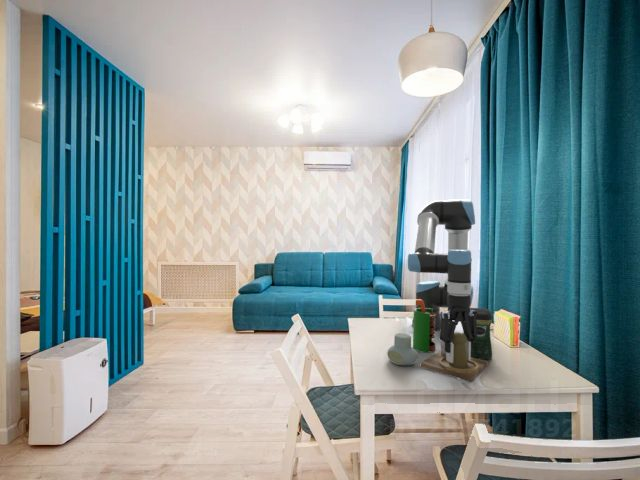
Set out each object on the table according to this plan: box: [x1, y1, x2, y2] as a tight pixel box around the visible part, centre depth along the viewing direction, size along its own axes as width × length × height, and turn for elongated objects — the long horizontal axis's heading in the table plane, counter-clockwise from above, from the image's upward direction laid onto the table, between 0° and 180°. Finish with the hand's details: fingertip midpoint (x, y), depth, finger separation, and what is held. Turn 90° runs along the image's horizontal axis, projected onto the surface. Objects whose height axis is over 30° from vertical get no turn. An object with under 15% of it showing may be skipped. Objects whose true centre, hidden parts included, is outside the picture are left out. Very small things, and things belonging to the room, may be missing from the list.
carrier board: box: [420, 340, 489, 383], centre depth 113 cm, size 18×17×8 cm
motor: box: [412, 298, 437, 353], centre depth 132 cm, size 10×9×20 cm
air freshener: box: [386, 332, 419, 367], centre depth 116 cm, size 11×8×10 cm
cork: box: [449, 332, 468, 369], centre depth 111 cm, size 6×6×11 cm
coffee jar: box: [470, 307, 493, 361], centre depth 123 cm, size 10×8×19 cm
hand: (458, 360), depth 111 cm, fingers open, 6 cm apart
